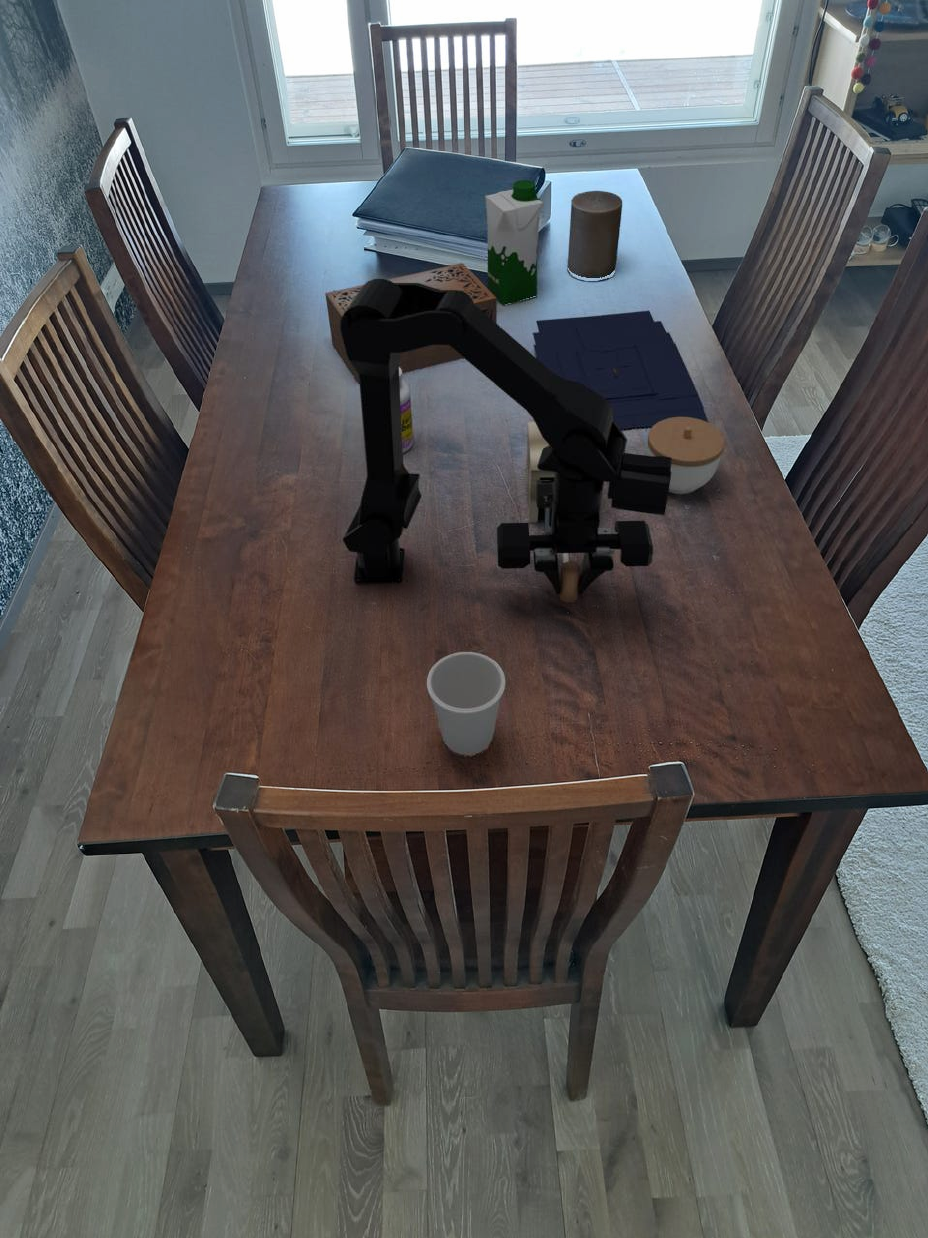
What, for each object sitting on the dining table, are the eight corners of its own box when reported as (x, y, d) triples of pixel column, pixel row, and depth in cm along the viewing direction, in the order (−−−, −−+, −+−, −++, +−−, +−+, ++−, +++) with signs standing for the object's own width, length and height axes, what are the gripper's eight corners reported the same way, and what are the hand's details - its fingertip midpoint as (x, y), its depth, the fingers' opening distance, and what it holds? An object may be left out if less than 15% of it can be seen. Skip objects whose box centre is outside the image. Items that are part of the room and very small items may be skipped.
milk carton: (543, 298, 173) (548, 190, 159) (500, 309, 171) (501, 200, 156) (522, 279, 179) (525, 173, 164) (480, 289, 176) (479, 182, 162)
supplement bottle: (408, 459, 140) (402, 386, 130) (366, 454, 141) (357, 382, 131) (418, 434, 144) (413, 361, 135) (377, 429, 145) (370, 357, 136)
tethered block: (588, 602, 118) (591, 574, 114) (549, 602, 118) (551, 574, 114) (579, 509, 131) (581, 481, 127) (544, 509, 131) (545, 481, 127)
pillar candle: (623, 266, 182) (632, 189, 171) (602, 286, 176) (609, 208, 165) (580, 255, 185) (586, 179, 174) (557, 275, 180) (562, 197, 169)
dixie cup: (504, 707, 106) (505, 651, 99) (503, 767, 101) (504, 712, 93) (433, 706, 107) (429, 649, 100) (428, 765, 101) (423, 710, 94)
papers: (657, 322, 164) (660, 305, 161) (706, 434, 147) (711, 417, 144) (524, 334, 162) (525, 317, 159) (558, 450, 145) (560, 432, 142)
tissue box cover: (463, 314, 170) (462, 262, 163) (496, 351, 161) (496, 298, 154) (332, 345, 164) (325, 293, 156) (358, 385, 154) (352, 331, 147)
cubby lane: (591, 521, 129) (597, 469, 122) (529, 522, 129) (531, 470, 122) (585, 472, 136) (590, 421, 130) (526, 473, 137) (527, 421, 130)
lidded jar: (718, 465, 137) (730, 412, 130) (711, 509, 130) (724, 456, 123) (646, 454, 139) (655, 402, 132) (636, 497, 132) (644, 444, 125)
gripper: (647, 454, 112) (633, 548, 123) (495, 457, 112) (495, 551, 123) (661, 513, 104) (644, 608, 116) (498, 516, 104) (497, 610, 116)
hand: (569, 592), depth 118 cm, fingers closed on tethered block, 2 cm apart
